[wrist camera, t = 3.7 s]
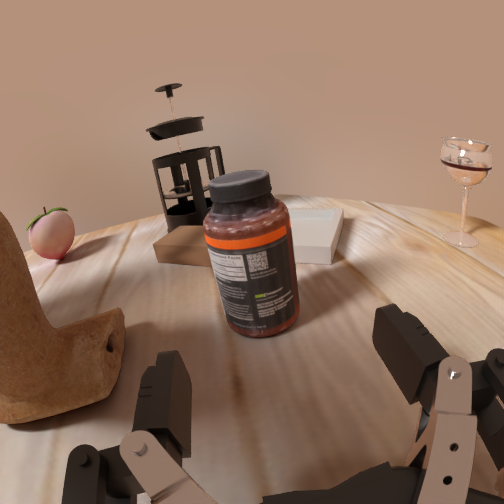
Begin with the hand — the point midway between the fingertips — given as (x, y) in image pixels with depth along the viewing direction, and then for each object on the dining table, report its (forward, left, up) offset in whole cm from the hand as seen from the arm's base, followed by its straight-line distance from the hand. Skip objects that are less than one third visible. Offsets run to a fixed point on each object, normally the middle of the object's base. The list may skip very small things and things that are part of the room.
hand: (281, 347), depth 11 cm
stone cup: (-17, -5, -7) cm, 19 cm away
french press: (-24, +29, -7) cm, 38 cm away
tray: (-7, +24, -7) cm, 26 cm away
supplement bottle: (-5, +9, -7) cm, 13 cm away
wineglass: (+15, +26, -7) cm, 31 cm away
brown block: (-18, +19, -7) cm, 27 cm away
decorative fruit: (-45, +14, -7) cm, 48 cm away
